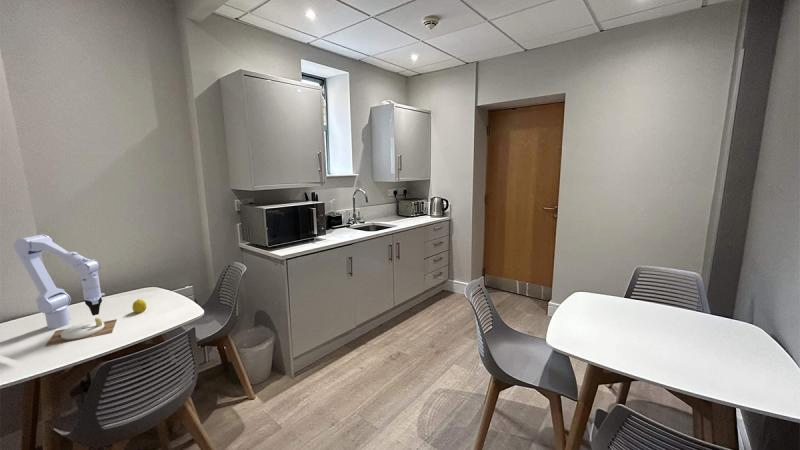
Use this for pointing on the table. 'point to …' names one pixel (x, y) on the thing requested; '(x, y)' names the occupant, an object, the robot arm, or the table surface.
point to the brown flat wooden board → (58, 340)
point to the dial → (83, 330)
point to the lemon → (139, 306)
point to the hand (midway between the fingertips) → (95, 314)
